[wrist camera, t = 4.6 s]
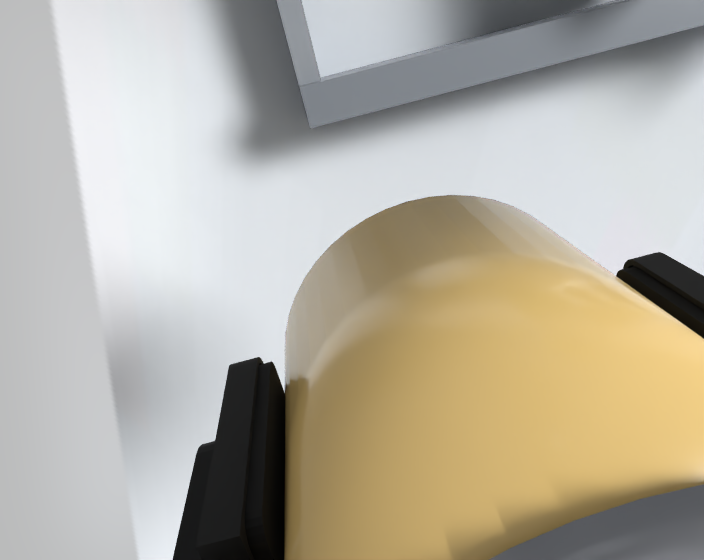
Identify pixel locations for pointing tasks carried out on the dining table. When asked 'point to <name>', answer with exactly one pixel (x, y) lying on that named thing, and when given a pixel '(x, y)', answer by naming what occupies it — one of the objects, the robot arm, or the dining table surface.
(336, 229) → the dining table surface
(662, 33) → the grey open rectangular box
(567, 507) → the honey jar
